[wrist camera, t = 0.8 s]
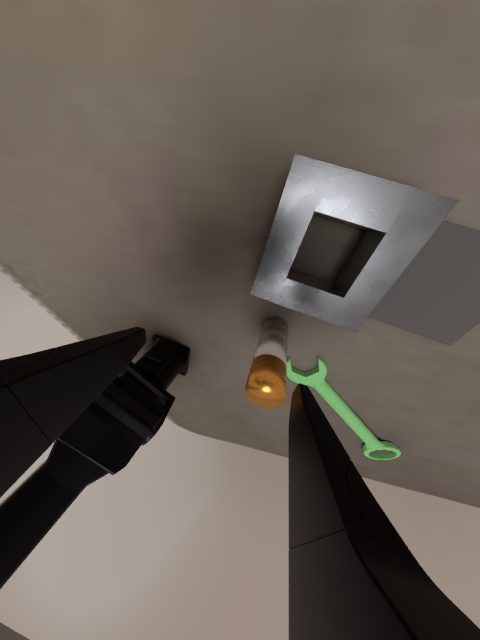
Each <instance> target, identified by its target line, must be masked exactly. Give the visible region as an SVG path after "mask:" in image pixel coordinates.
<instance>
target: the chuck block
mask: <svg viewBox="0 0 480 640" xmlns="http://www.w3.org/2000/svg"><path fill="white" fill-rule="evenodd" d="M458 202H459V200H458V199H454V198H450V197H447V196H443V195H440V194H436V193H433V192H429V191H426V190H422V189H418V188H415V187H411V186H408V185H404V184H401V183H397V182H394V181H390V180H386V179H383V178H379V177H376V176H372V175H369V174H365V173H361V172H358V171H354V170H351V169H347V168H344V167H340V166H337V165H333V164H329V163H326V162H322V161H319V160H315V159H312V158H308V157H305V156H301V155H297V154H295V156H294V159H293V162H292V166H291V169H290V172H289V175H288V178H287V181H286V184H285V187H284V190H283V194H282V197H281V200H280V203H279V206H278V209H277V212H276V215H275V218H274V222H273V225H272V228H271V231H270V234H269V237H268V240H267V243H266V246H265V250H264V253H263V256H262V259H261V262H260V265H259V268H258V271H257V274H256V278H255V281H254V284H253V287H252V290H251V293H250V295H253V296H256V297H259V298H262V299H264V300H267V301H270V302H273V303H276V304H278V305H281V306H284V307H287V308H290V309H292V310H295V311H298V312H301V313H304V314H306V315H309V316H312V317H315V318H318V319H320V320H323V321H326V322H329V323H332V324H334V325H337V326H340V327H343V328H346V329H348V330H351V331H354V332H356V330H357V329H358V328H359V327H360V325H361V324H362V323H363V322H364V320H365V319H366V318H367V317H368V315H369V314H370V313H371V311H372V310H373V309H374V308H375V306H376V305H377V304H378V303H379V301H380V300H381V299H382V298H383V296H384V295H385V294H386V293H387V291H388V290H389V289H390V287H391V286H392V285H393V284H394V282H395V281H396V280H397V279H398V277H399V276H400V275H401V274H402V272H403V271H404V270H405V269H406V267H407V266H408V265H409V264H410V262H411V261H412V260H413V258H414V257H415V256H416V255H417V253H418V252H419V251H420V250H421V248H422V247H423V246H424V245H425V243H426V242H427V241H428V240H429V238H430V237H431V236H432V234H433V233H434V232H435V231H436V229H437V228H438V227H439V226H440V224H441V223H442V222H443V221H444V219H445V218H446V217H447V216H448V214H449V213H450V212H451V211H452V209H453V208H454V207H455V205H456V204H457V203H458ZM313 215H317V216H320V217H323V218H326V219H330V220H333V221H336V222H339V223H343V224H346V225H349V226H352V227H356V228H359V229H362V230H365V232H364V233H363V235H362V237H361V238H360V240H359V242H358V244H357V245H356V247H355V249H354V250H353V252H352V254H351V255H350V257H349V259H348V260H347V262H346V264H345V265H344V267H343V269H342V271H341V272H340V274H339V276H338V277H337V279H336V281H335V282H334V283H331V282H328V281H325V280H322V279H319V278H316V277H313V276H310V275H307V274H304V273H301V272H298V271H296V270H293V269H290V268H291V265H292V263H293V261H294V258H295V256H296V254H297V251H298V249H299V246H300V244H301V242H302V239H303V237H304V235H305V232H306V230H307V228H308V225H309V223H310V220H311V218H312V216H313Z"/></svg>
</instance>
